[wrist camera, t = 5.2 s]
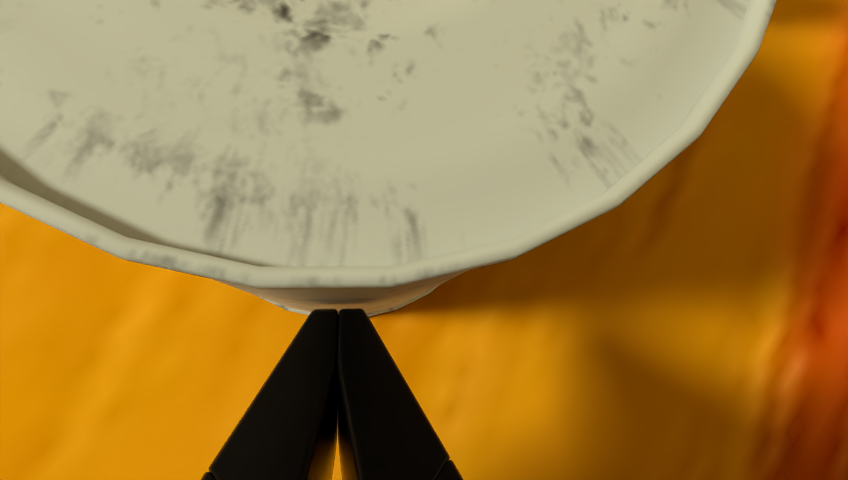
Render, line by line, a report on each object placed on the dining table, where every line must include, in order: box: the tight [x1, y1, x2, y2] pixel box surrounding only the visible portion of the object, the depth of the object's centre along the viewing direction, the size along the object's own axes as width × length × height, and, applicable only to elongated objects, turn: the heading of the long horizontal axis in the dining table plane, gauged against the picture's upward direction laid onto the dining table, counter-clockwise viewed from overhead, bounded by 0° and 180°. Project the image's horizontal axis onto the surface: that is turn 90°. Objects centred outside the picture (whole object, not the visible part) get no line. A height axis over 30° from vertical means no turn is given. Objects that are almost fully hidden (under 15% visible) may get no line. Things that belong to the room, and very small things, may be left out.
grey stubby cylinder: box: [0, 0, 777, 317], centre depth 11 cm, size 10×10×12 cm
